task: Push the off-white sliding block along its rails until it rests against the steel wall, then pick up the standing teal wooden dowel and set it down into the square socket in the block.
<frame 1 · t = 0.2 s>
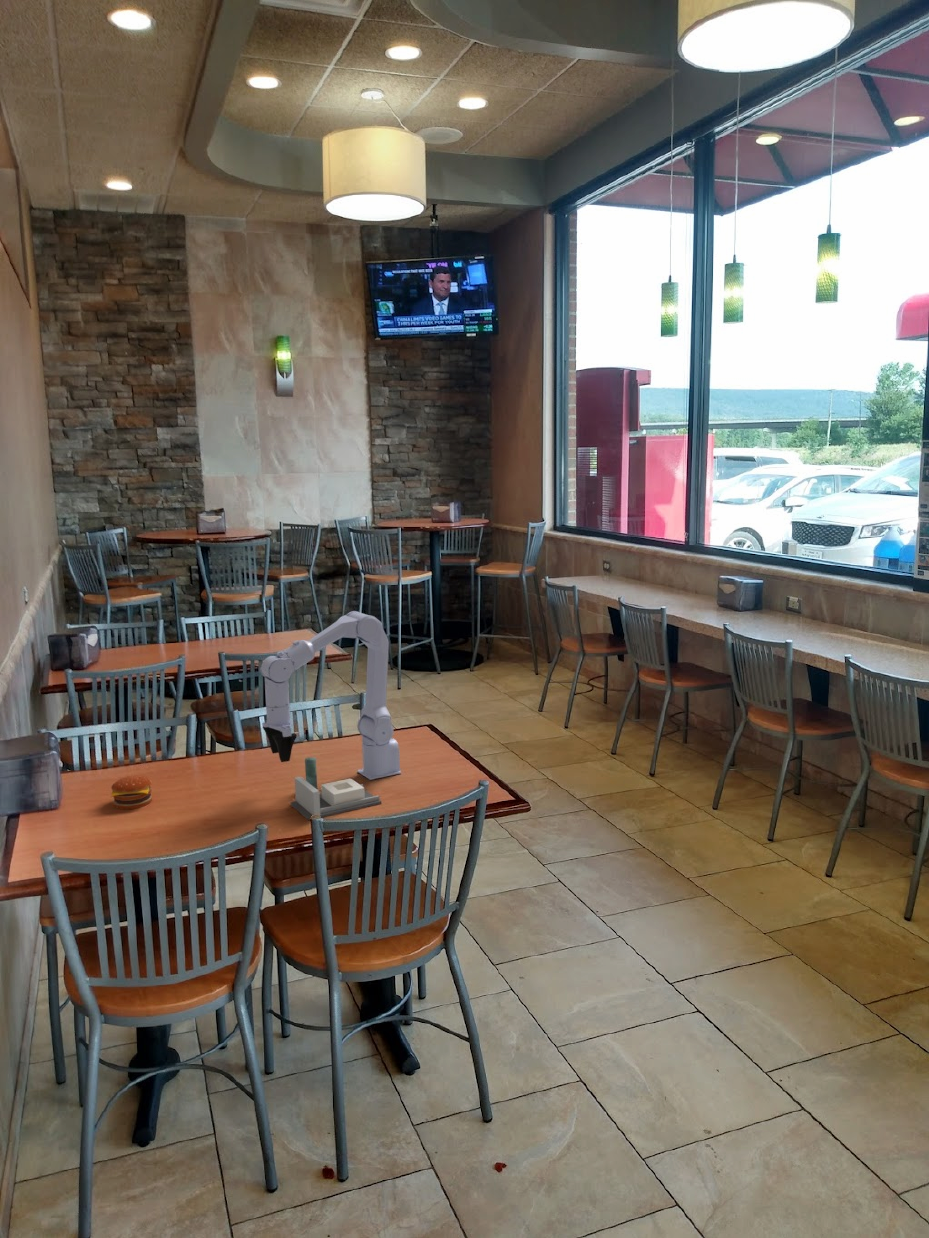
hand: (280, 756, 230), 10 cm above the table, tool pointing down, fingers open, 7 cm apart
dowel: (311, 788, 236), on the table
hamburger: (132, 803, 228), on the table
sliding block: (342, 792, 226), point 2 cm above the table, slide at 0.0 cm
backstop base: (335, 803, 225), on the table
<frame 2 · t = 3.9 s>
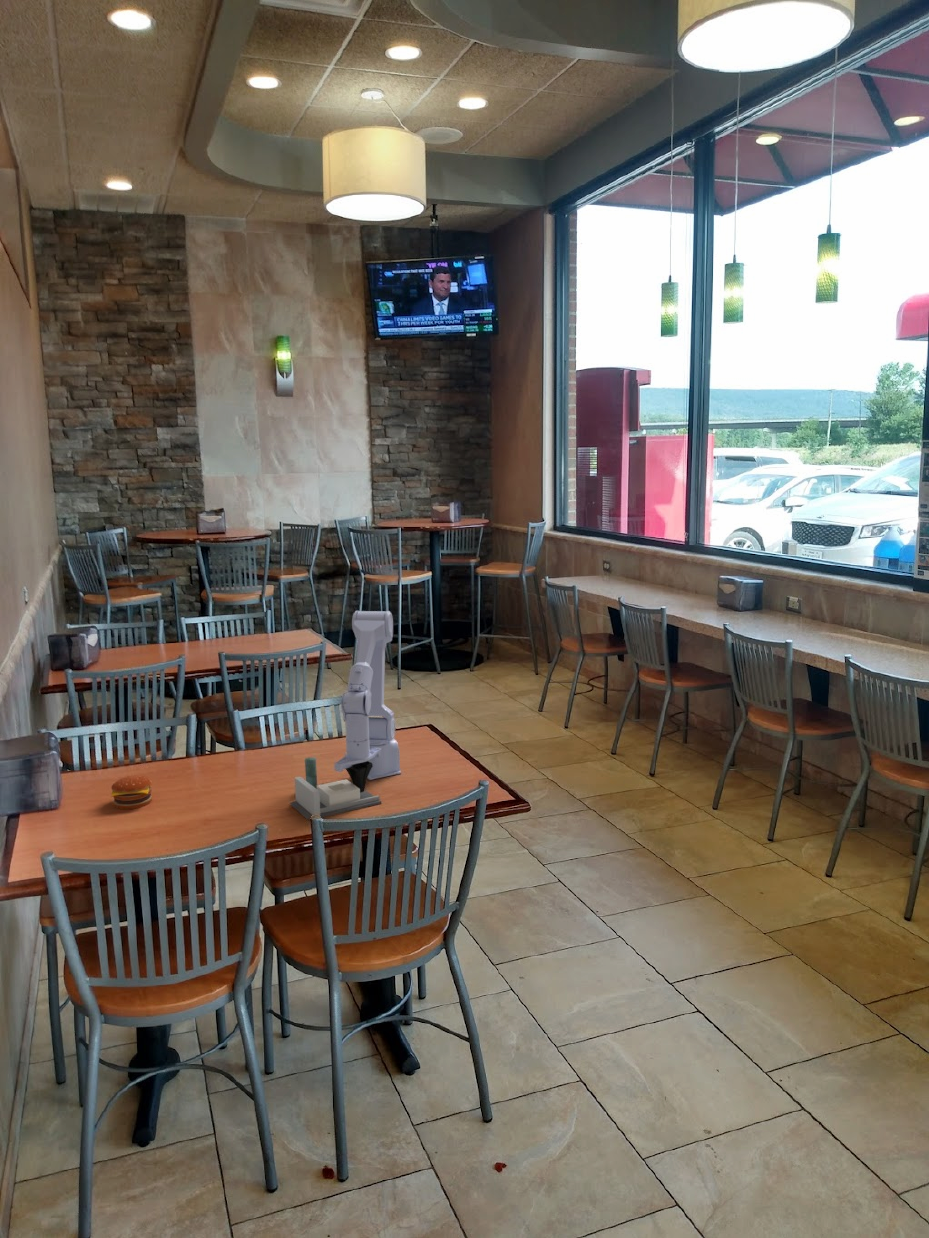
hand: (359, 791, 228), 2 cm above the table, tool pointing down, fingers closed
sliding block: (338, 793, 225), point 2 cm above the table, slide at 1.2 cm, touching gripper
everything else where it was.
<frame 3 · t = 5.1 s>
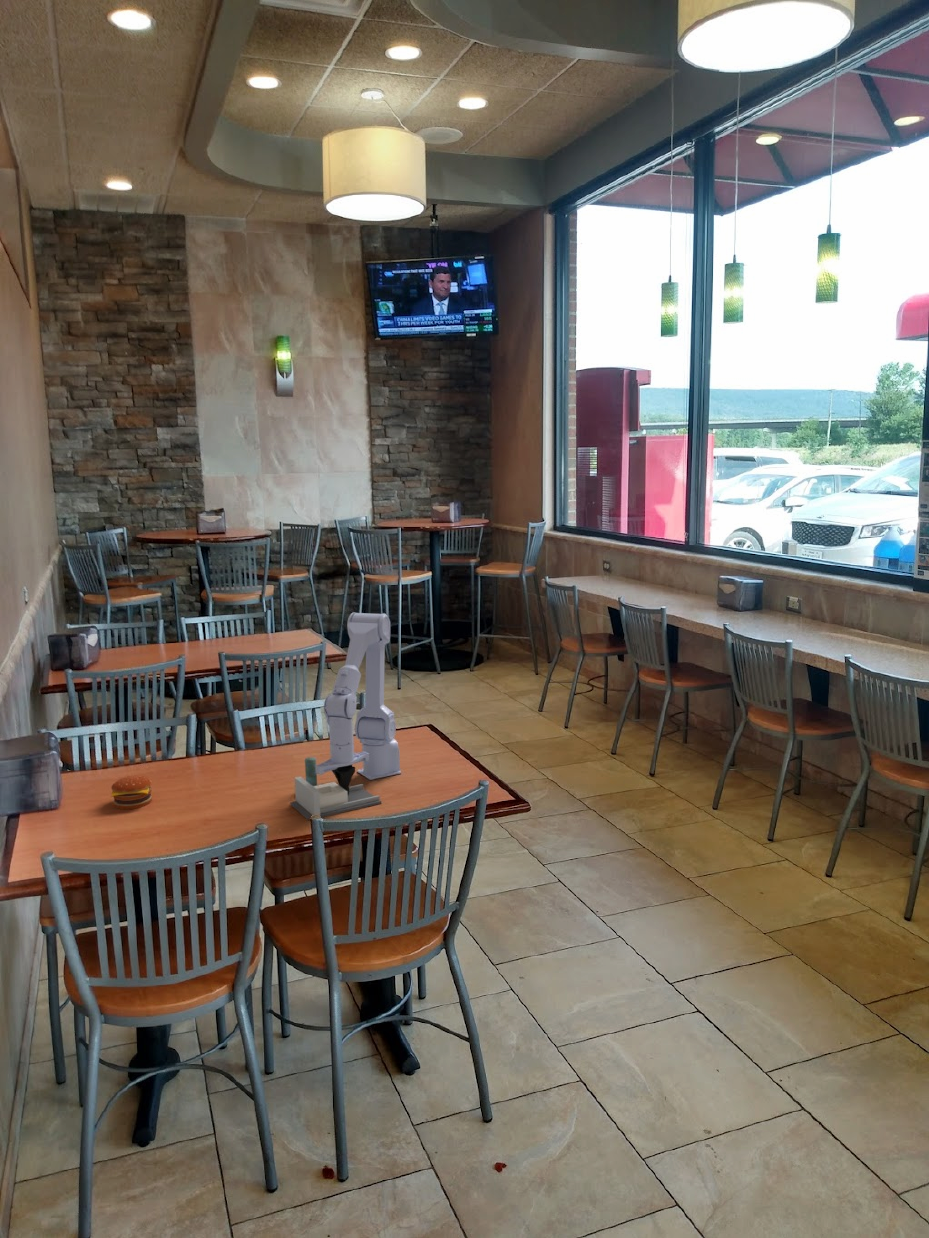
hand: (344, 794, 226), 2 cm above the table, tool pointing down, fingers closed, pressing on sliding block
sliding block: (325, 796, 224), point 2 cm above the table, slide at 4.5 cm, touching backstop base, gripper
everything else where it was.
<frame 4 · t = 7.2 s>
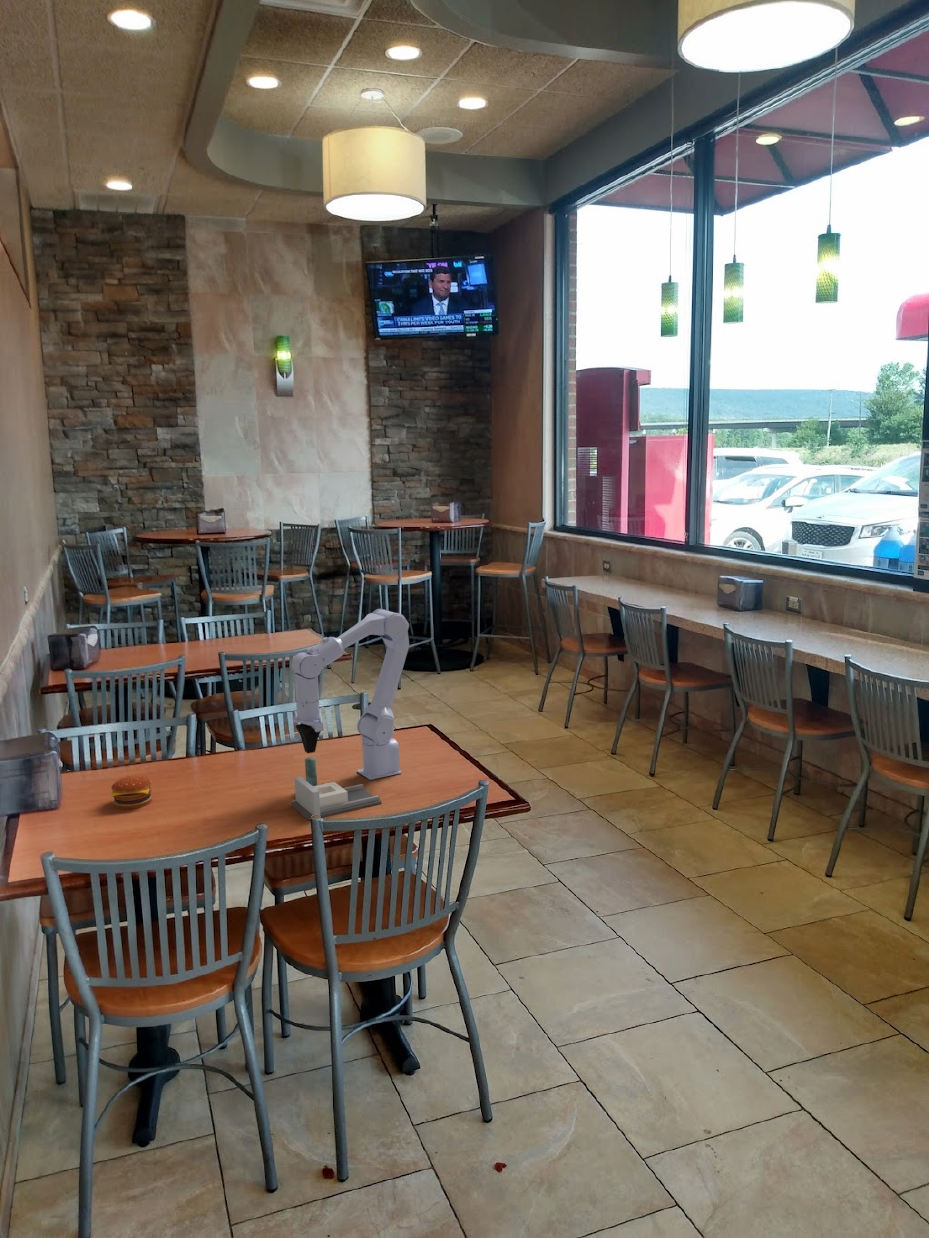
hand: (310, 751, 234), 10 cm above the table, tool pointing down, fingers closed
sliding block: (325, 796, 224), point 2 cm above the table, slide at 4.5 cm, touching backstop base
everything else where it was.
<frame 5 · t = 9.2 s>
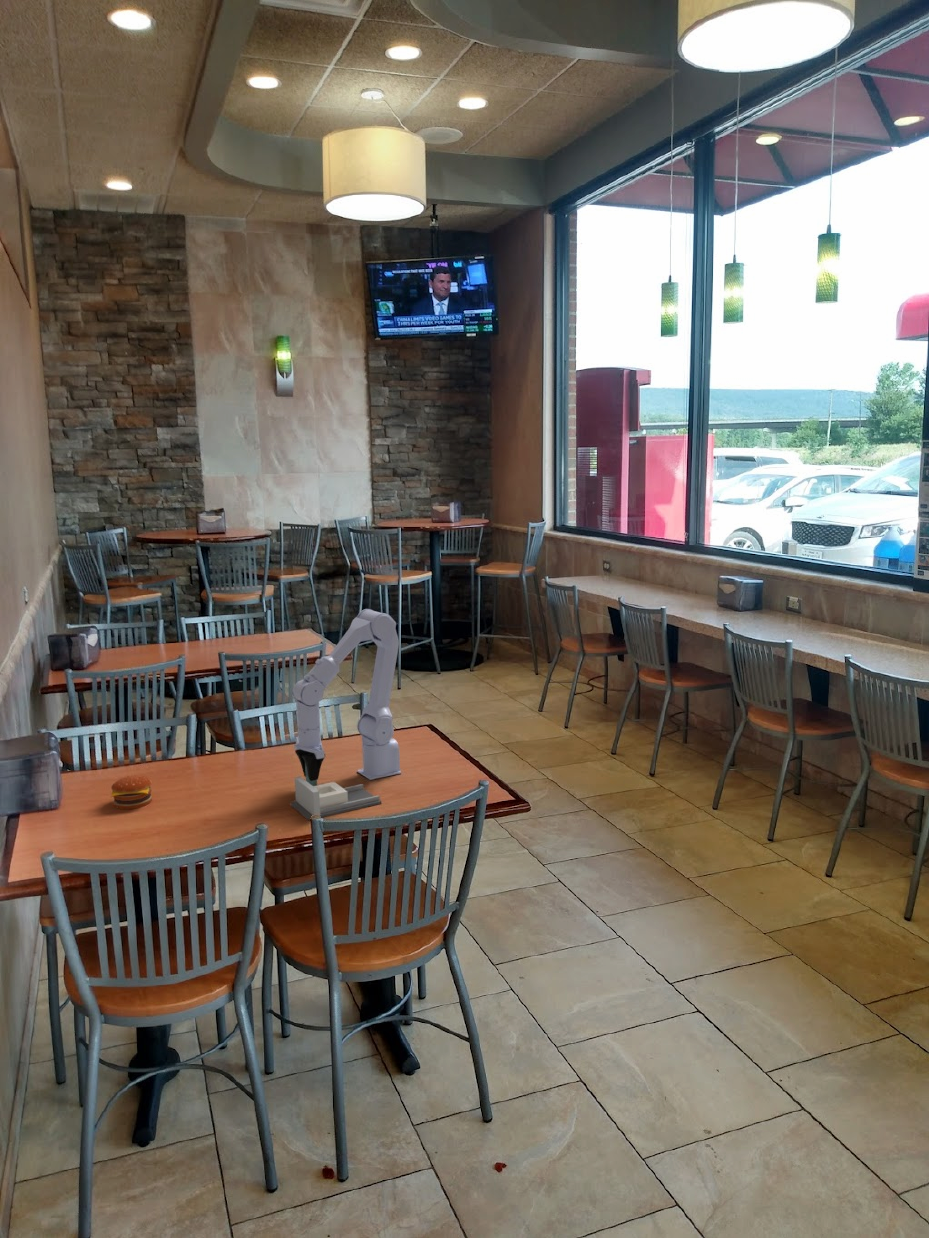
hand: (311, 777, 235), 3 cm above the table, tool pointing down, fingers closed on dowel, 3 cm apart
dowel: (311, 788, 236), on the table, touching gripper
everything else where it was.
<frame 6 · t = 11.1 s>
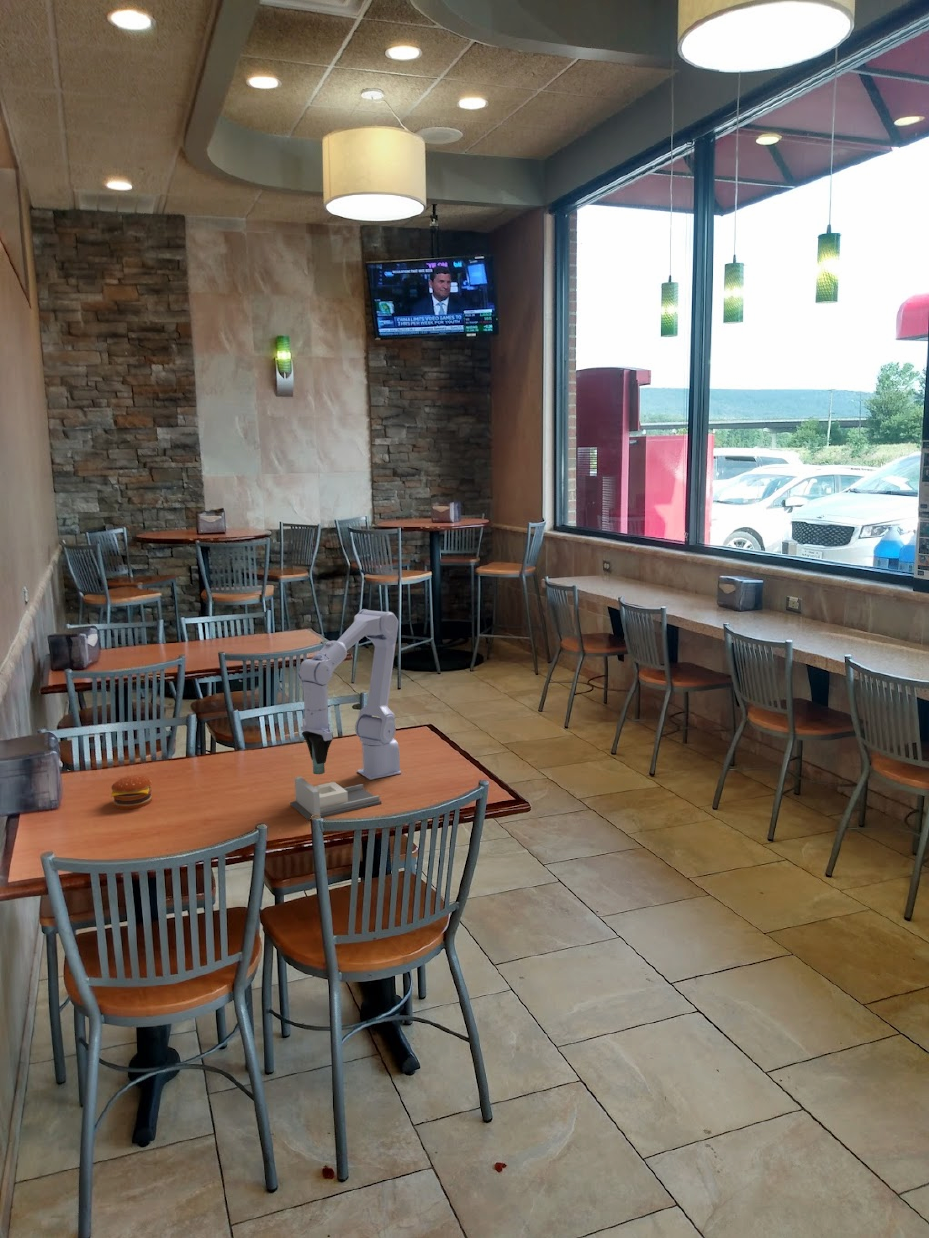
hand: (318, 761, 227), 10 cm above the table, tool pointing down, fingers closed on dowel, 3 cm apart
dowel: (318, 772, 227), point 7 cm above the table, touching gripper
everything else where it was.
when the fingers open (5 cm above the table, at t = 13.0 s): dowel stays where it is, resting on sliding block.
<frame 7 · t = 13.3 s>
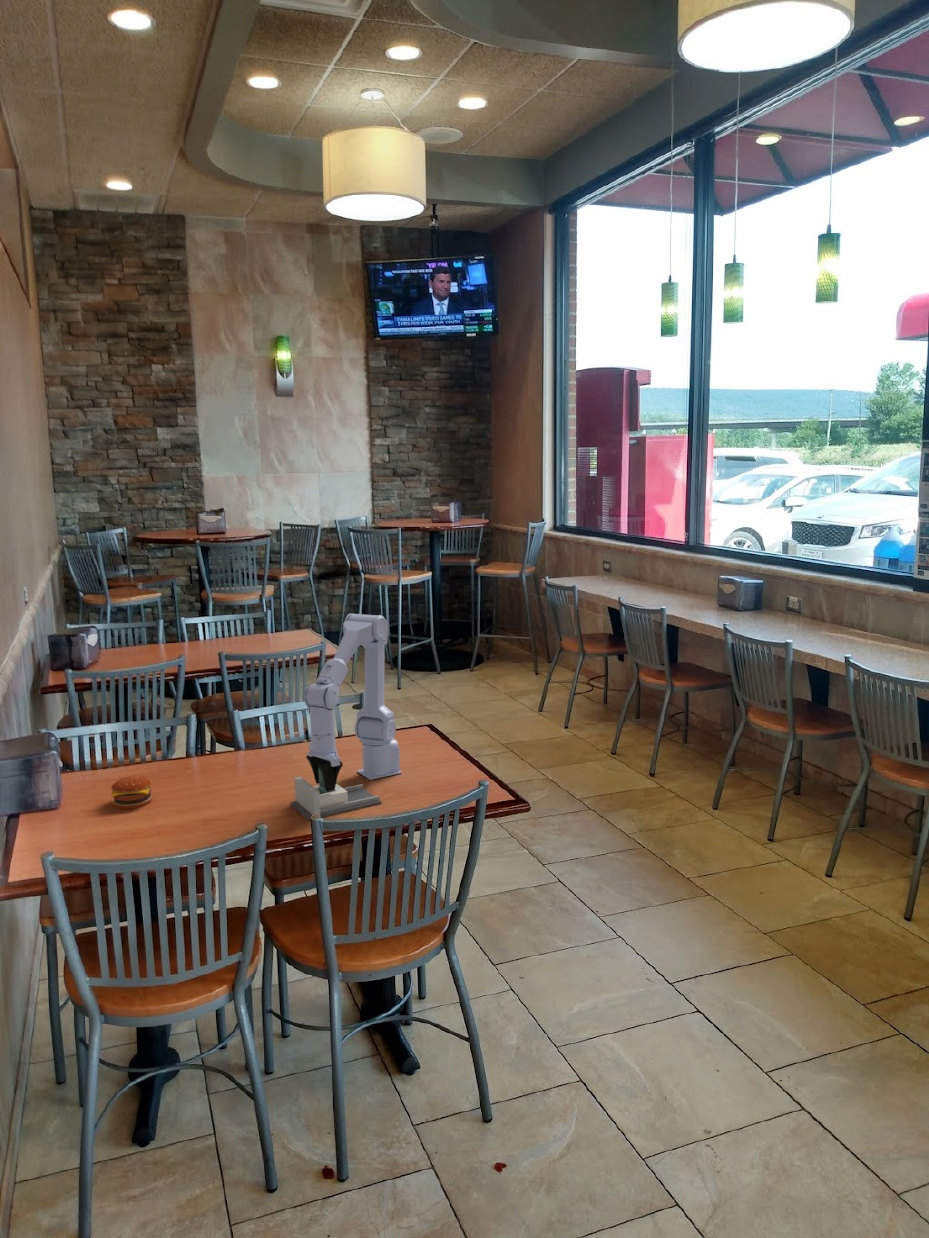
hand: (325, 786, 223), 5 cm above the table, tool pointing down, fingers open, 5 cm apart
dowel: (325, 799, 224), point 2 cm above the table, touching sliding block
sliding block: (325, 796, 224), point 2 cm above the table, slide at 4.5 cm, touching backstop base, dowel
everything else where it was.
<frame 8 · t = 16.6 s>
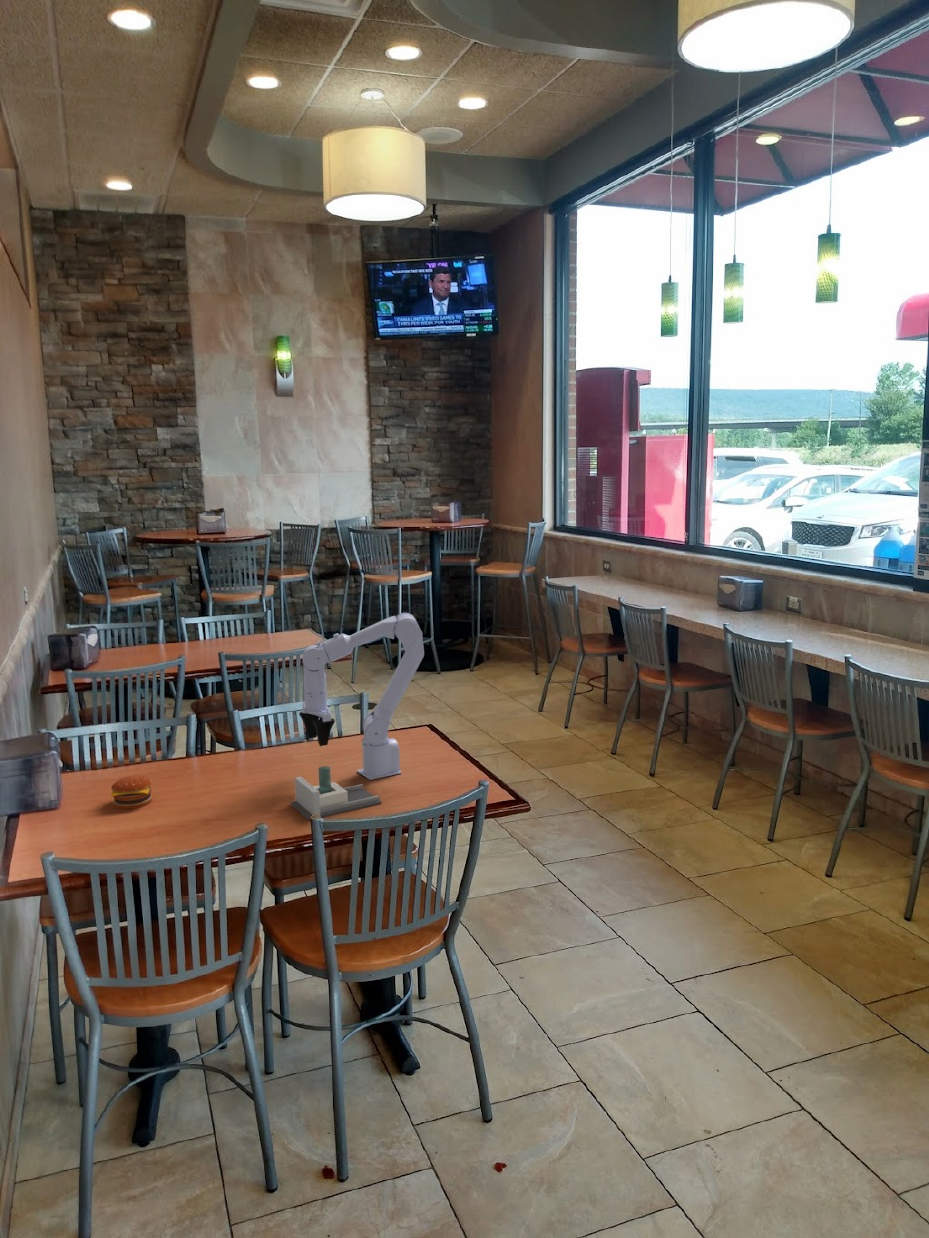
hand: (317, 741, 242), 10 cm above the table, tool pointing down, fingers open, 7 cm apart
nothing on the table moved.
at the end: sliding block slide at 4.5 cm; dowel 0.1 cm off-centre on the sliding block, point 1.0 cm above the sliding block's base; the gripper is holding nothing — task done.
